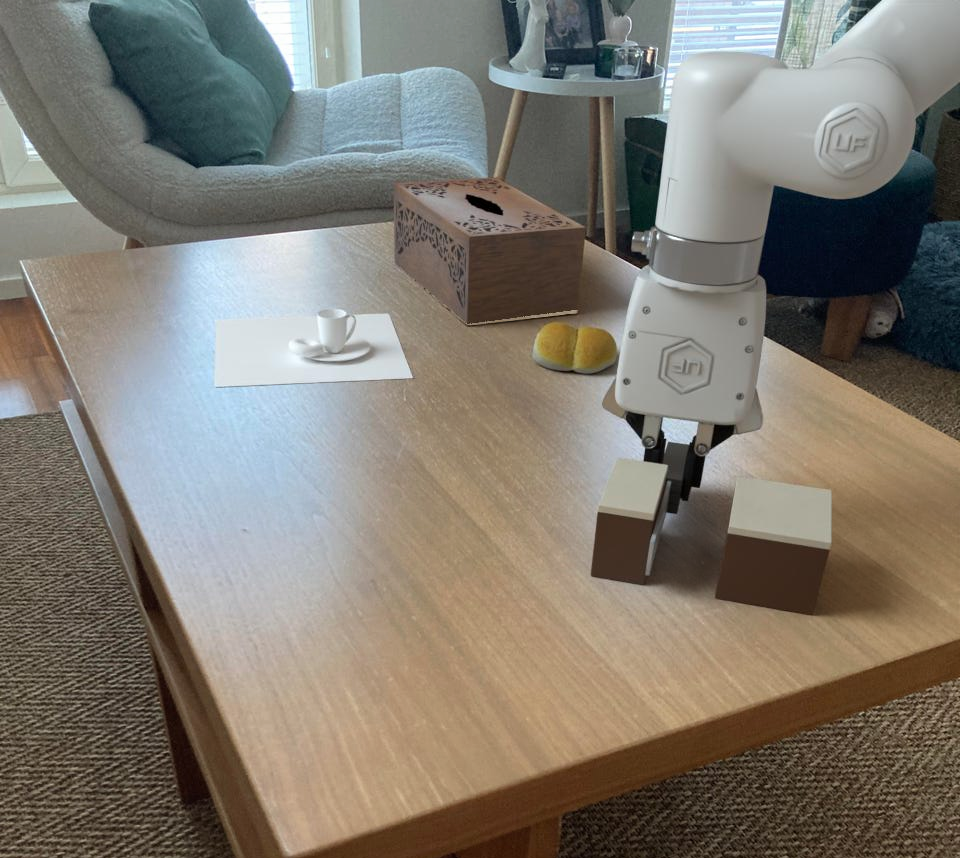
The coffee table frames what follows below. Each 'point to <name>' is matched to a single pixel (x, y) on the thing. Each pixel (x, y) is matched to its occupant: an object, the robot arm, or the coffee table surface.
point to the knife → (669, 493)
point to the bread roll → (574, 348)
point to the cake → (776, 545)
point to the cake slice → (627, 520)
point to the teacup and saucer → (307, 349)
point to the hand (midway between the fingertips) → (669, 489)
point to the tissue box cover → (487, 248)
